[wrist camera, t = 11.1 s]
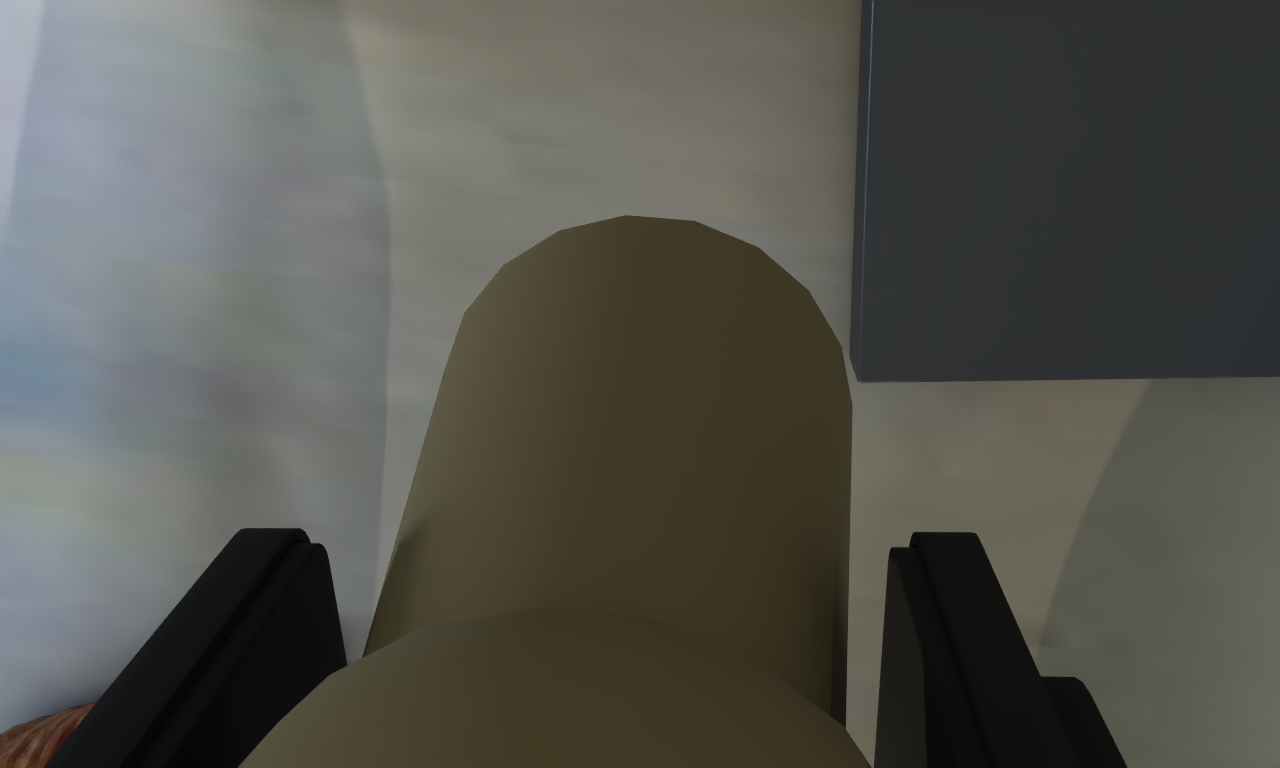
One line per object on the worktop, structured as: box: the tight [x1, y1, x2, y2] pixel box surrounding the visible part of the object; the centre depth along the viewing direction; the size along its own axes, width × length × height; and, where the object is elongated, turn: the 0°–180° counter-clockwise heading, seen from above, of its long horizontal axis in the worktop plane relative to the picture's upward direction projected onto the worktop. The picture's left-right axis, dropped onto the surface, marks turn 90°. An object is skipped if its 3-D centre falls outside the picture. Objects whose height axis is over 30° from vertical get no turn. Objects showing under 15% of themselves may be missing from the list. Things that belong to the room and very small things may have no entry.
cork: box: [238, 215, 872, 768], centre depth 10 cm, size 6×6×11 cm
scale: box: [850, 0, 1280, 383], centre depth 25 cm, size 16×14×4 cm
